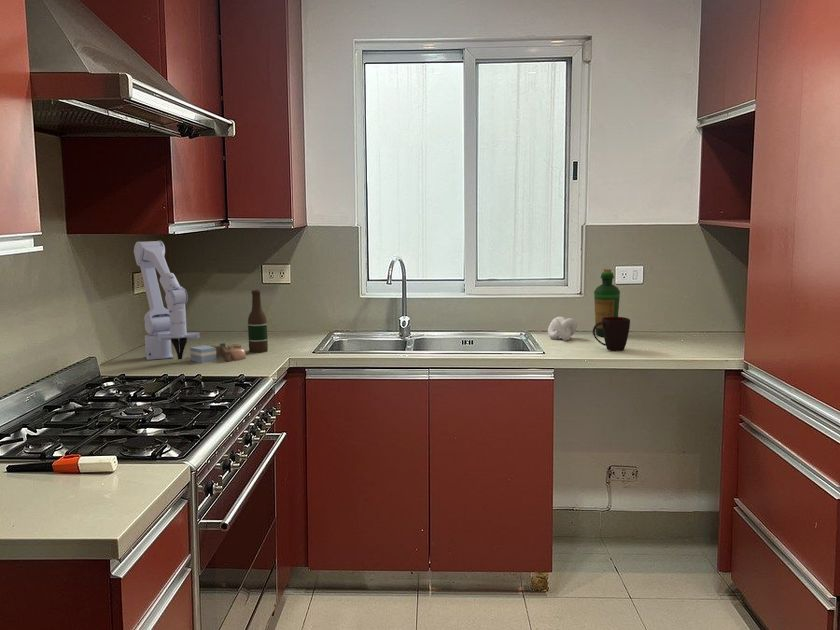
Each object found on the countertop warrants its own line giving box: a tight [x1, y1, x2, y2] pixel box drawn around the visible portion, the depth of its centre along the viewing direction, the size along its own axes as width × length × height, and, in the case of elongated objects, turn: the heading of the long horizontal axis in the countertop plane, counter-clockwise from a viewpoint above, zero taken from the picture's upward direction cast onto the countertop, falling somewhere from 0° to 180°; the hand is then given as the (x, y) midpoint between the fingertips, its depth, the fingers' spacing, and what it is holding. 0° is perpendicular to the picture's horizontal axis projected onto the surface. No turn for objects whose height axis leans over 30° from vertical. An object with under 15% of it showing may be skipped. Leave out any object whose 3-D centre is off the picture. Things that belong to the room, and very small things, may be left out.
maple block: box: [226, 343, 242, 350], centre depth 307 cm, size 4×4×4 cm
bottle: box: [593, 268, 621, 338], centre depth 337 cm, size 11×11×28 cm
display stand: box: [210, 342, 232, 363], centre depth 300 cm, size 11×16×4 cm
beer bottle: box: [247, 289, 269, 354], centre depth 314 cm, size 8×8×24 cm
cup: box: [592, 316, 631, 352], centre depth 307 cm, size 10×14×12 cm
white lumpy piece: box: [547, 316, 578, 342], centre depth 333 cm, size 11×12×9 cm
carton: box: [189, 344, 218, 364], centre depth 298 cm, size 6×8×5 cm
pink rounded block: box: [229, 347, 246, 361], centre depth 300 cm, size 6×6×4 cm
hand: (180, 358), depth 295 cm, fingers closed
